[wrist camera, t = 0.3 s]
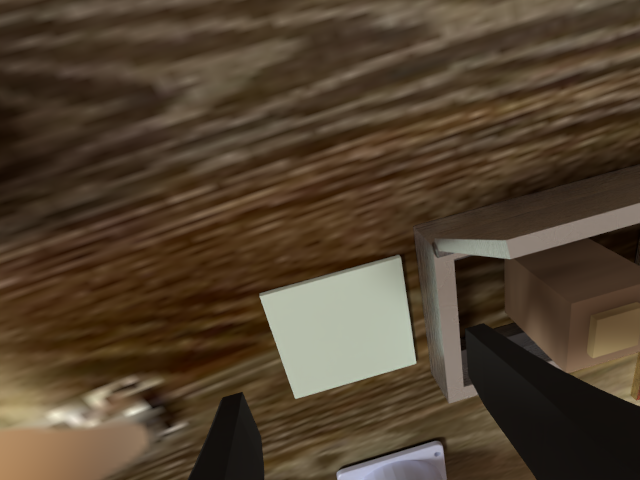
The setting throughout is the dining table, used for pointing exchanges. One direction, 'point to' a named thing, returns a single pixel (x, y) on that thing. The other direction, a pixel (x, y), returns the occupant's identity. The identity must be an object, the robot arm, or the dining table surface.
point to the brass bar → (636, 381)
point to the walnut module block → (576, 303)
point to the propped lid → (547, 226)
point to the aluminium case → (440, 272)
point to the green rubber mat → (342, 326)
